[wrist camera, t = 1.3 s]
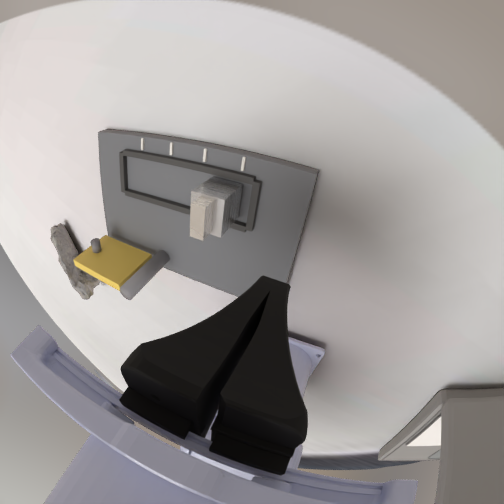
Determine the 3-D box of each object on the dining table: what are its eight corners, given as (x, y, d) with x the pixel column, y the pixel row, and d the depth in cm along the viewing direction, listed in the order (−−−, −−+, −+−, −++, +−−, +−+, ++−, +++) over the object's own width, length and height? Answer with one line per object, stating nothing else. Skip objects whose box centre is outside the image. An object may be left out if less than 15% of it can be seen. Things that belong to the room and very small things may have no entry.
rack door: (152, 260, 26) (120, 291, 22) (106, 240, 27) (75, 265, 23) (150, 244, 25) (116, 275, 21) (104, 226, 26) (70, 250, 22)
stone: (92, 291, 38) (75, 306, 35) (52, 229, 35) (33, 241, 32) (106, 283, 35) (87, 301, 31) (61, 212, 31) (39, 226, 28)
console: (280, 302, 26) (255, 362, 20) (116, 239, 30) (73, 273, 24) (318, 169, 18) (299, 210, 12) (107, 129, 22) (47, 150, 16)
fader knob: (237, 218, 21) (212, 246, 17) (209, 210, 21) (180, 235, 18) (242, 184, 19) (216, 207, 16) (212, 176, 20) (181, 197, 16)
